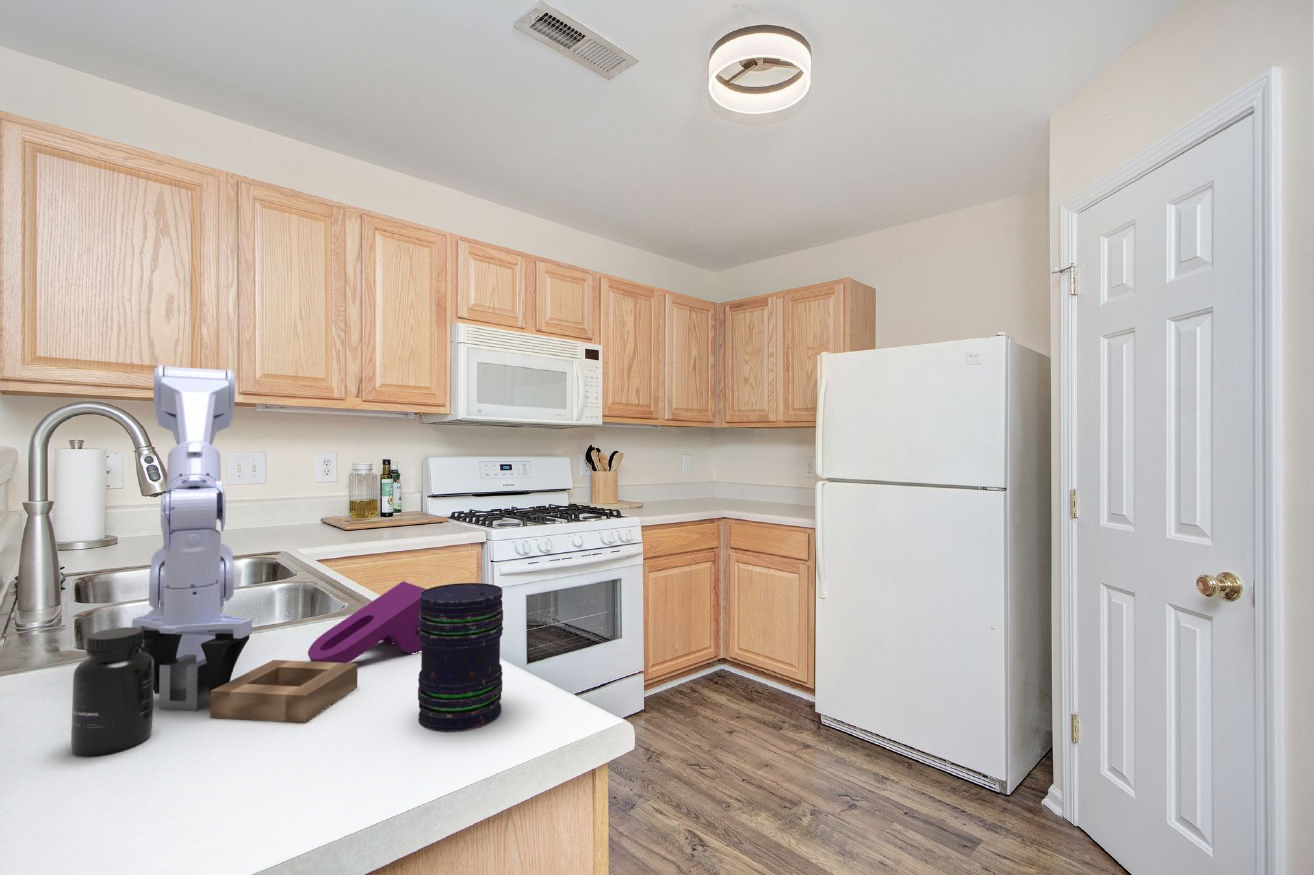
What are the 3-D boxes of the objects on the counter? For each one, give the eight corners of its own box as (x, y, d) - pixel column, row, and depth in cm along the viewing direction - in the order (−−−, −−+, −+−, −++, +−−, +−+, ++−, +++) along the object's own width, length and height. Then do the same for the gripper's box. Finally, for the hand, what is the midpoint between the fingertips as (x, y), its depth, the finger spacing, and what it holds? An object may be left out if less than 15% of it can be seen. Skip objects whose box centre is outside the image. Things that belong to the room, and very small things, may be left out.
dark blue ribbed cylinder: (398, 724, 76) (400, 596, 76) (452, 693, 85) (453, 580, 85) (470, 738, 73) (471, 605, 73) (517, 705, 82) (519, 586, 82)
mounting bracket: (348, 711, 94) (451, 633, 106) (322, 665, 91) (431, 590, 103) (323, 693, 100) (423, 621, 112) (298, 649, 97) (403, 581, 109)
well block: (210, 717, 77) (210, 690, 77) (273, 683, 88) (273, 659, 88) (305, 722, 76) (305, 695, 76) (357, 687, 87) (357, 663, 87)
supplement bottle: (61, 763, 66) (62, 645, 66) (82, 736, 72) (84, 628, 72) (145, 749, 69) (147, 637, 69) (159, 724, 75) (160, 621, 75)
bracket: (158, 710, 80) (159, 665, 80) (185, 697, 83) (186, 654, 84) (196, 712, 79) (197, 666, 79) (221, 699, 83) (222, 656, 83)
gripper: (110, 589, 78) (108, 702, 78) (222, 593, 77) (220, 708, 77) (160, 576, 85) (158, 680, 85) (264, 580, 84) (262, 685, 84)
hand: (191, 692), depth 81 cm, fingers open, 7 cm apart
